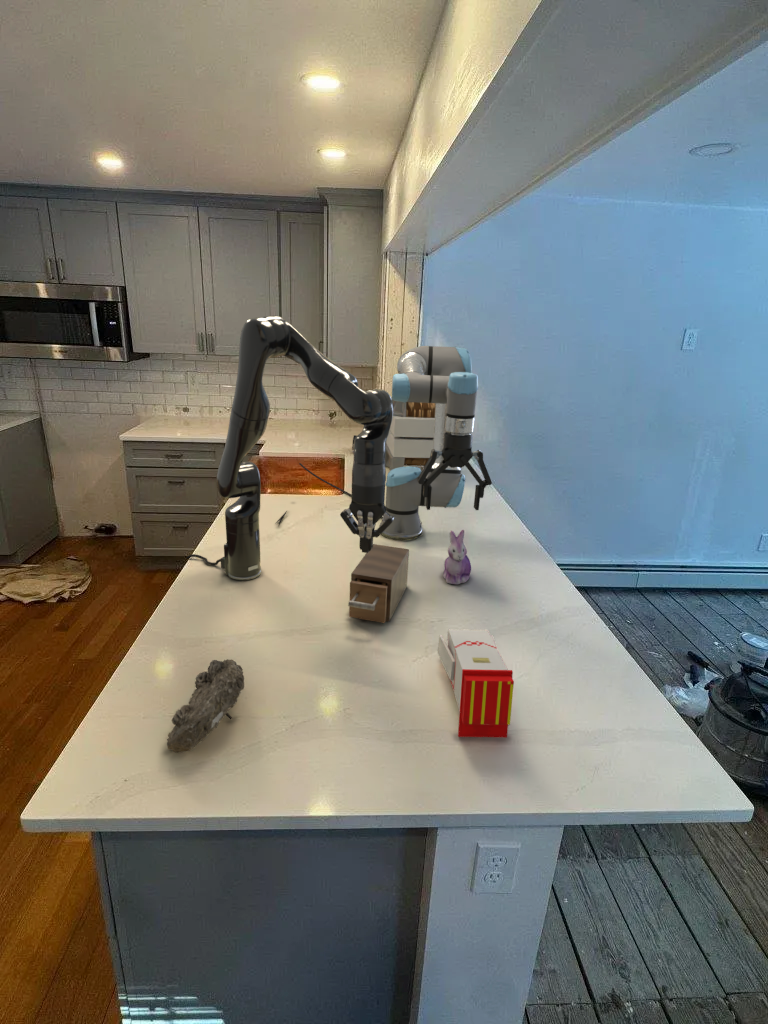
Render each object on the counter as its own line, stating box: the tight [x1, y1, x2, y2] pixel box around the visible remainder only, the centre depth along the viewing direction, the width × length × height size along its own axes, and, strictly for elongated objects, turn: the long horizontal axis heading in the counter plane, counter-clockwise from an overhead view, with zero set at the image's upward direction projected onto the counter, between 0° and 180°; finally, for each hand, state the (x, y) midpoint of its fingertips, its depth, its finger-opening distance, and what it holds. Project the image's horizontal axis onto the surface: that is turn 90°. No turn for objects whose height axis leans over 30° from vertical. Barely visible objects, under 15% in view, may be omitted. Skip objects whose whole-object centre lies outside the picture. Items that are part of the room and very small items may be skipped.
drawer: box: [347, 578, 387, 624], centre depth 146 cm, size 24×9×10 cm, turn 165°
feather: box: [274, 510, 288, 528], centre depth 213 cm, size 2×28×2 cm
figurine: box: [442, 529, 472, 585], centre depth 166 cm, size 9×10×15 cm
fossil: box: [166, 658, 245, 754], centre depth 106 cm, size 22×10×15 cm
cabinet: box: [350, 543, 410, 622], centre depth 152 cm, size 20×10×12 cm, turn 165°
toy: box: [437, 628, 515, 738], centre depth 117 cm, size 12×13×30 cm
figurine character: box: [351, 435, 357, 451], centre depth 310 cm, size 7×8×15 cm
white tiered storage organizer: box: [385, 397, 436, 472], centre depth 268 cm, size 34×33×41 cm
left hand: (366, 551), depth 133 cm, fingers closed
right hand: (452, 508), depth 157 cm, fingers open, 13 cm apart
